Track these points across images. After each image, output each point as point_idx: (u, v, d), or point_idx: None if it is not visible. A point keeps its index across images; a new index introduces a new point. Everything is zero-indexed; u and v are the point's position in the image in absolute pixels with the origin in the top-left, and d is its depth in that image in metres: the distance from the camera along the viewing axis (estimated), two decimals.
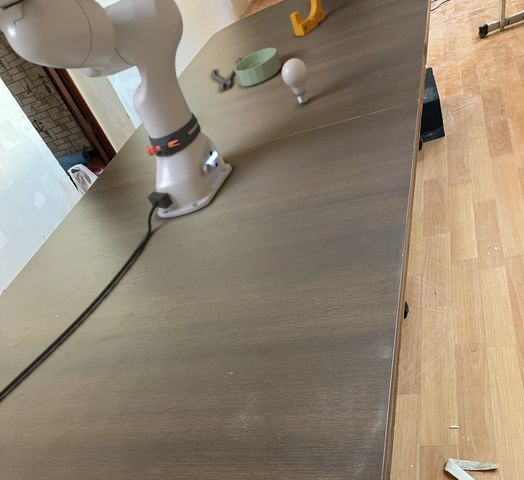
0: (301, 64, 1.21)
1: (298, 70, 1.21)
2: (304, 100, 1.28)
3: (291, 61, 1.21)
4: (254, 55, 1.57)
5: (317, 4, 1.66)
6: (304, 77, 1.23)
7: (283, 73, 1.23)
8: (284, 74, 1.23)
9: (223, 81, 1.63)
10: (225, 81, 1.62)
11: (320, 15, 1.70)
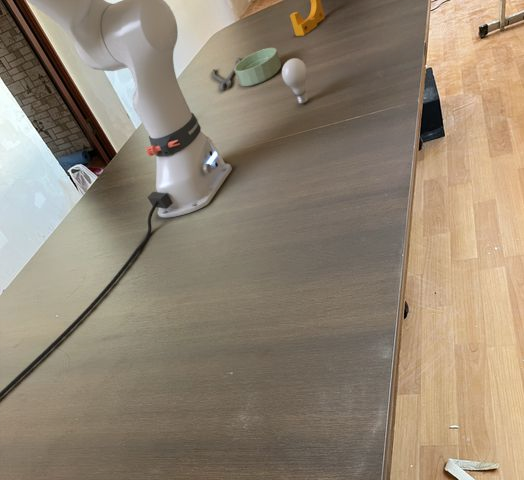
0: (301, 64, 1.21)
1: (298, 70, 1.21)
2: (304, 100, 1.28)
3: (291, 61, 1.21)
4: (254, 55, 1.57)
5: (317, 4, 1.66)
6: (304, 77, 1.23)
7: (283, 73, 1.23)
8: (284, 74, 1.23)
9: (223, 81, 1.63)
10: (225, 81, 1.62)
11: (320, 15, 1.70)
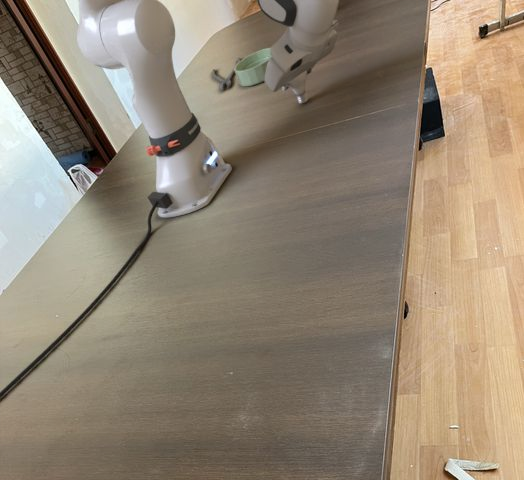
0: None
1: None
2: (304, 100, 1.28)
3: None
4: (254, 55, 1.57)
5: None
6: (304, 77, 1.23)
7: None
8: None
9: (223, 81, 1.63)
10: (225, 81, 1.62)
11: None
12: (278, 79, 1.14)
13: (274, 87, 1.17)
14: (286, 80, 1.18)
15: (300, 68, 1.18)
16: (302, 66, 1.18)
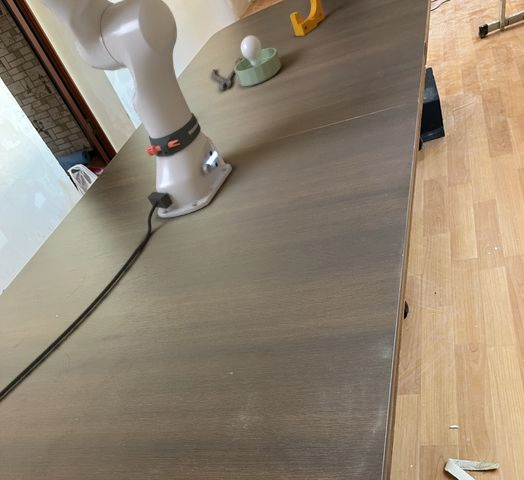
0: (255, 40, 1.47)
1: (253, 45, 1.47)
2: None
3: (247, 37, 1.47)
4: None
5: (317, 4, 1.66)
6: (259, 51, 1.49)
7: (241, 48, 1.49)
8: (242, 49, 1.49)
9: (223, 81, 1.63)
10: (225, 81, 1.62)
11: (320, 15, 1.70)
12: None
13: None
14: None
15: None
16: None
